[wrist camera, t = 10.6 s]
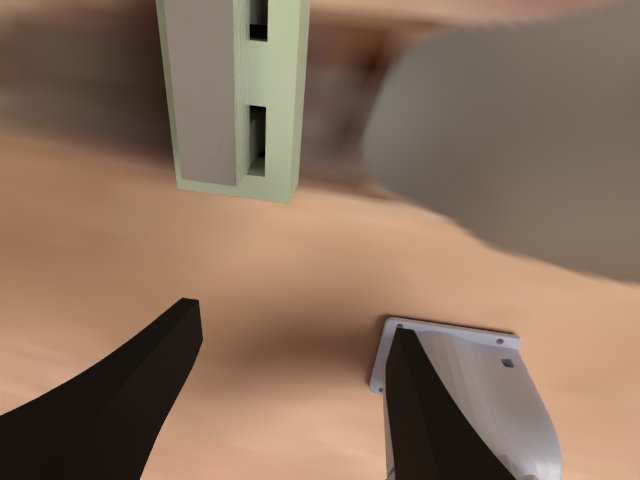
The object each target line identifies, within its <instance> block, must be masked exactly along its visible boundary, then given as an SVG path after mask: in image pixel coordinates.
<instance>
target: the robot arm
mask: <svg viewBox="0 0 640 480" xmlns="http://www.w3.org/2000/svg"><path fill="white" fill-rule="evenodd" d="M398 324H402V325H400V326H398ZM498 339H500V340H498ZM202 341H203V335H202V326H201V317H200V308H199V300H195V299H188V298H181V299H180V300H179V301H177V302H176V303H175V304H174V305H173V306H171V307H170V308H169V309H168V310H166V311H165V312H164V313H163V314H162V315H160V316H159V317H158V318H157V319H156V320H154V321H153V322H152V323H151V324H149V325H148V326H147V327H146V328H144V329H143V330H142V331H140V332H139V333H138V334H137V335H135V336H134V337H133V338H132V339H130V340H129V341H128V342H126V343H125V344H123V345H122V346H121V347H119V348H118V349H116V350H115V351H114V352H112V353H111V354H110V355H108V356H107V357H105V358H104V359H102V360H101V361H99V362H98V363H96V364H95V365H93V366H92V367H90V368H89V369H87V370H85V371H84V372H82V373H81V374H79V375H77V376H76V377H74V378H72V379H71V380H69V381H67V382H65V383H63V384H62V385H60V386H58V387H56V388H54V389H52V390H51V391H49V392H47V393H45V394H43V395H42V396H40V397H38V398H36V399H34V400H32V401H30V402H28V403H26V404H24V405H22V406H20V407H18V408H16V409H14V410H12V411H9V412H7V413H5V414H3V415H1V416H0V480H140V477H141V475H142V472H143V470H144V467H145V465H146V462H147V460H148V457H149V455H150V452H151V450H152V448H153V445H154V443H155V440H156V438H157V436H158V433H159V431H160V429H161V427H162V425H163V423H164V421H165V419H166V417H167V415H168V413H169V412H170V410H171V408H172V406H173V404H174V402H175V400H176V398H177V396H178V394H179V392H180V391H181V389H182V387H183V385H184V383H185V381H186V379H187V377H188V375H189V373H190V371H191V369H192V367H193V365H194V363H195V360H196V357H197V355H198V352H199V349H200V347H201V344H202ZM521 344H522V341H521V339H520V337H519V336H517V335H513V334H506V333H499V332H492V331H485V330H478V329H472V328H465V327H458V326H451V325H444V324H438V323H431V322H424V321H417V320H410V319H404V318H397V317H390V318H388V319H386V321H385V325H384V328H383V332H382V336H381V340H380V344H379V348H378V352H377V356H376V360H375V364H374V367H373V371H372V375H371V379H370V383H369V390H370V391H371V392H373V393H379V394H383V409H384V428H385V448H386V468H387V479H385V480H561V478H562V456H561V449H560V444H559V440H558V436H557V433H556V430H555V427H554V424H553V422H552V420H551V418H550V416H549V413H548V411H547V409H546V407H545V405H544V403H543V401H542V399H541V397H540V395H539V393H538V391H537V389H536V387H535V385H534V382H533V380H532V378H531V376H530V374H529V372H528V370H527V368H526V366H525V364H524V362H523V360H522V358H521V356H520V354H519V351H518V350H519V348H520V346H521Z"/></svg>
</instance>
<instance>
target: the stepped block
mask: <svg viewBox="0 0 640 480" xmlns="http://www.w3.org/2000/svg"><path fill="white" fill-rule="evenodd" d="M164 10H165V20H166V30H167V40H168V49H169V59H170V69H171V79H172V89H173V99H174V109H175V119H176V128H177V138H178V148H179V158H180V168H181V178H182V179H184V180H191V181H198V182H205V183H212V184H219V185H227V186H234V187H237V186H238V184H239V183H240V182H241V181H242V180H243V178H244V177H245V176H246V175H247V174H248V172H249V166H250V165H251V164H252V162H253V161H254V160H255V159H256V158H257V157H258V155H259V154H260V153H261V152H262V151H263V150H264V148H265V145H266V111H262V110H255V109H250V24H257V25H268V0H164Z"/></svg>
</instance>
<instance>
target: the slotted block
mask: <svg viewBox="0 0 640 480" xmlns="http://www.w3.org/2000/svg"><path fill="white" fill-rule="evenodd" d="M310 4H311V0H268V39H261V38H252V37H250V105H255V106H263V107H266V148H265V157H257V158H256V159H255V160H254V161H253V162H252V164H251V165H250V166H249V172H248V174H247V175H246V176H245V177H244V178H243V180H242V181H241V182H240V183H239V184H238V186H237V187H234V186H227V185H219V184H212V183H205V182H198V181H191V180H184V179H182V178H181V168H180V158H179V148H178V138H177V128H176V119H175V109H174V99H173V89H172V79H171V69H170V59H169V49H168V40H167V30H166V20H165V10H164V0H156V8H157V17H158V25H159V34H160V43H161V51H162V60H163V68H164V77H165V86H166V94H167V103H168V112H169V120H170V129H171V138H172V146H173V155H174V163H175V172H176V181H177V189H182V190H190V191H197V192H205V193H212V194H219V195H227V196H234V197H242V198H249V199H257V200H264V201H271V202H279V203H286V204H289V203H290V200H291V198H292V196H293V194H294V191H295V189H296V187H297V184H298V178H299V163H300V149H301V134H302V120H303V105H304V91H305V76H306V62H307V48H308V33H309V19H310Z"/></svg>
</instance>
